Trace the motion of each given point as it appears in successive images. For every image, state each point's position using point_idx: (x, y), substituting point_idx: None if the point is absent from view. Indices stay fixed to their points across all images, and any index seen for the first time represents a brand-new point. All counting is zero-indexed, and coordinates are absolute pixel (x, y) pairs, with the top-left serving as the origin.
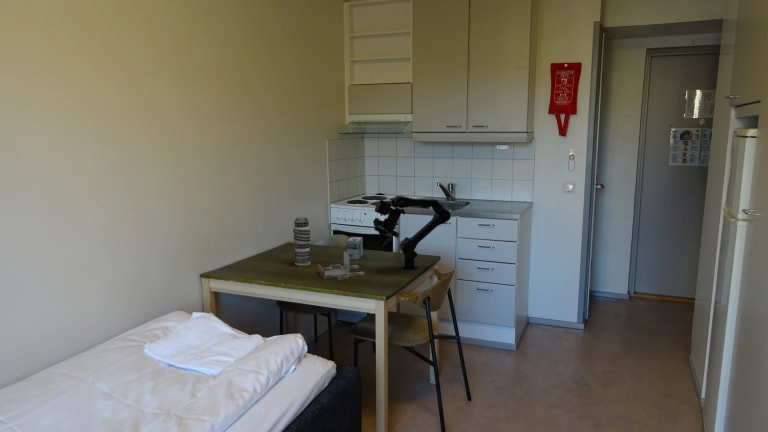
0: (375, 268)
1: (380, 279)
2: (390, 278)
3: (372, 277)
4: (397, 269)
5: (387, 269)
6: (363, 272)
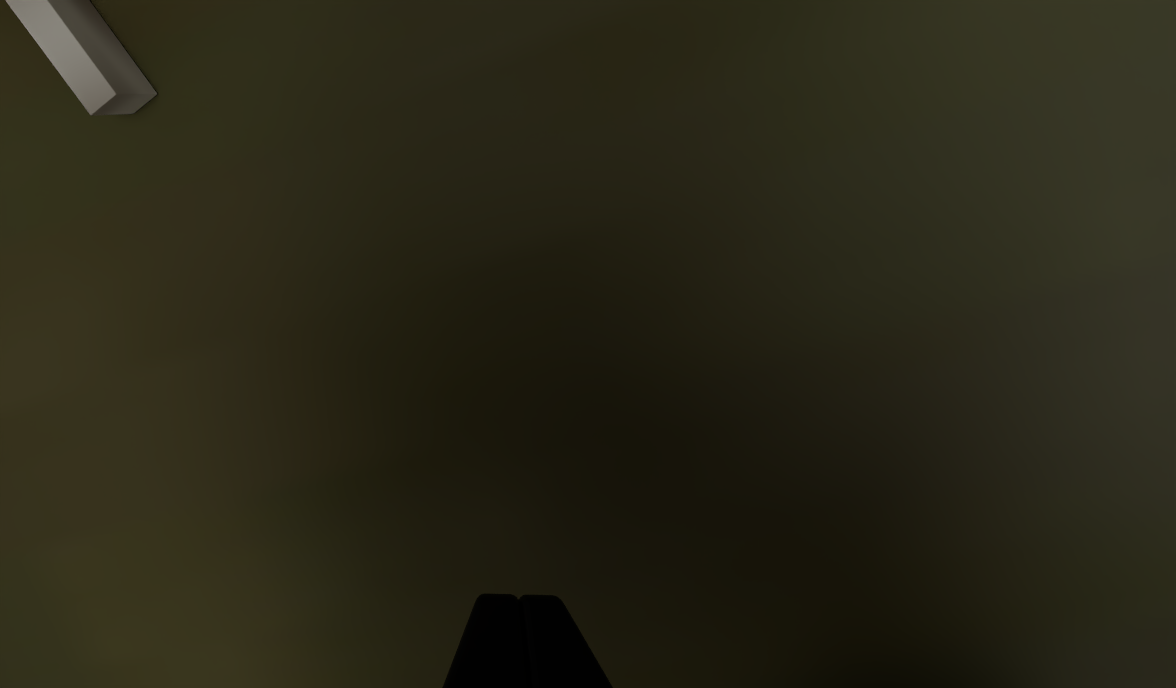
0: (707, 177)
1: (26, 488)
2: (151, 630)
3: (68, 319)
4: (749, 638)
5: (696, 453)
6: (78, 94)
